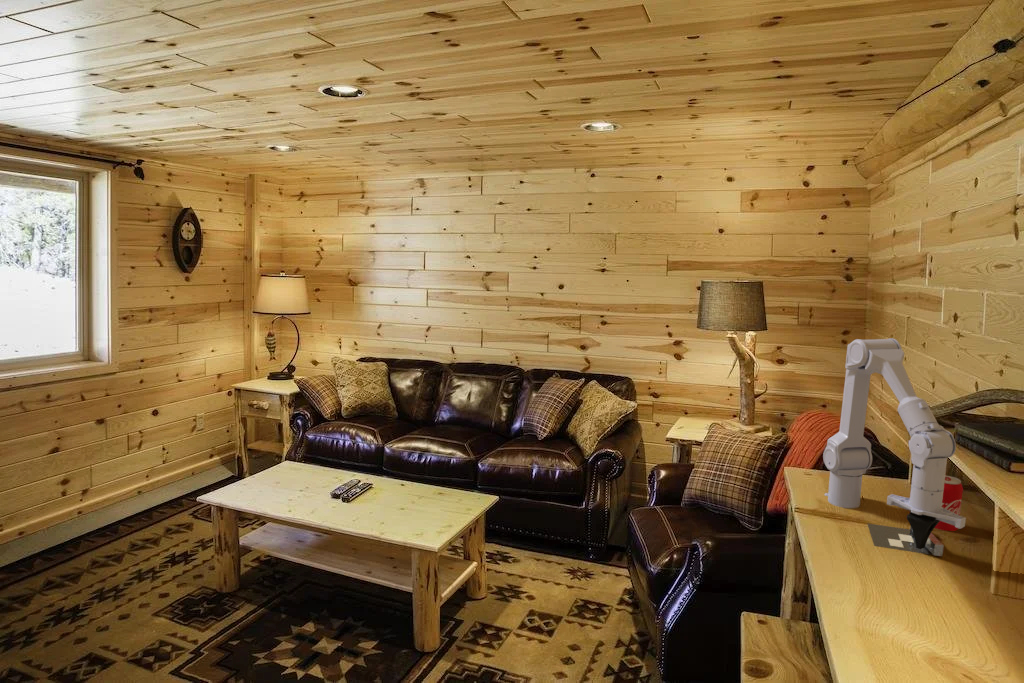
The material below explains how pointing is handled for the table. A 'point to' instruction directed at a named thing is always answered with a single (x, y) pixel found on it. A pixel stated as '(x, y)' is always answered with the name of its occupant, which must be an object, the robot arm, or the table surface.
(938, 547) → the swing arm
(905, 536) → the label
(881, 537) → the plate
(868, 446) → the robot arm
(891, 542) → the label
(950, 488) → the beverage can
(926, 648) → the table surface
